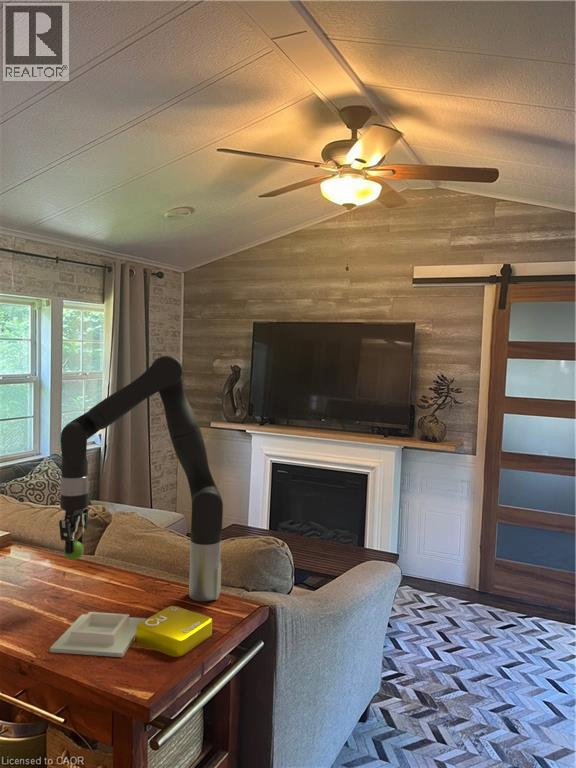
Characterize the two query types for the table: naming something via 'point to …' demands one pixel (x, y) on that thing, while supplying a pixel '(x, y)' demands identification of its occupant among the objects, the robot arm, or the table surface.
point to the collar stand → (98, 635)
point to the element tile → (174, 631)
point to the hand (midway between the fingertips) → (74, 549)
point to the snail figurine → (76, 546)
